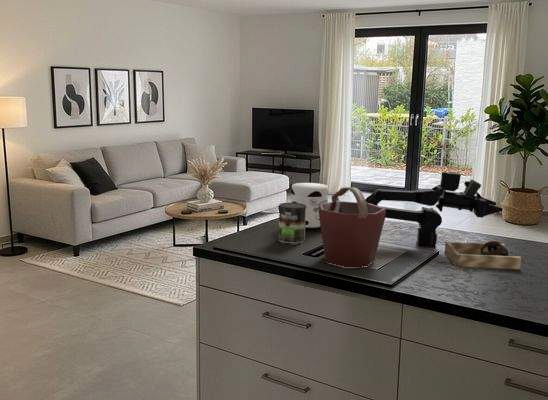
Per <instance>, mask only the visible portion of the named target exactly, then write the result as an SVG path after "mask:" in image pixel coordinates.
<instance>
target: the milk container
mask: <svg viewBox="0 0 548 400" xmlns="http://www.w3.org/2000/svg"><path fill="white" fill-rule="evenodd" d="M290 193H291V194H290V201H291V202H290V203H301V204H304V205H306V217H305V230H321V226H320V219H319V204H322V203H329V186H328V185H327V184H324V183H317V182H297V183H293V184H291V192H290Z"/></svg>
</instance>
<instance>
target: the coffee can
mask: <svg viewBox="0 0 548 400" xmlns="http://www.w3.org/2000/svg"><path fill="white" fill-rule="evenodd" d="M278 208H279V210H278V211H279V213H278V239H279V241H281V242H285V243H300V242H303V241H304V240H305V239H306V237H305V236H306V235H305V234H306V229H305V217H306V205H304V204H301V203H291V202H282V203H279V205H278ZM279 241H278V242H279ZM281 242H280V243H281ZM285 243H284V244H285Z"/></svg>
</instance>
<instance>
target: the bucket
mask: <svg viewBox="0 0 548 400" xmlns="http://www.w3.org/2000/svg"><path fill="white" fill-rule="evenodd" d="M348 191H350V192H351V193H352V194H353V197H354V198H355V200H356V201H346V200H345V201H343V200H342V201H341V200H340V199H339V197H342V196H343V195H345V194H346V193H347V192H348ZM365 199H366V198H365V196H364V194H363V192H362V191H361V190H360V189H359V188H357V187H354V186H353V187H350V186H347V187H346V186H345V187H344V186H343V187H341V188H340V189H339V190H338V191H336V192H335V193H333V194H332V195H331V202H330V201H329V202H328V203H322V204H319V219H320V226H321V229H320V232H321V240H322V246H323V253H324V259H325V260H324V261H325V263H326V262H328V263H332V264H336V265H340V266H344V267H362V266H363V267H364V266H368V265H369V264H370V263H371V262H373V261H374V262H375V259H376V253H377V252H378V248H379V243H380V239H381V237H382V236H381V235H382V232H383V229H384V225H385V222H386V221H385V220H386V218H385V216H386V209H385V208H382V207H383V206H381V207H379V206H380V205H378V206H376V205H373V204H370V203H366V200H365ZM374 262H373V263H374ZM369 266H370V265H369ZM369 266H368V267H369Z"/></svg>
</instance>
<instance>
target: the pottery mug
mask: <svg viewBox="0 0 548 400" xmlns="http://www.w3.org/2000/svg"><path fill="white" fill-rule="evenodd" d="M484 243H485V244H483V245H482V246H481V248H480V250H481V252H480V254H479V255H494V256H510V255H509V251H508V248H507V247H506V246H505V247H504V246H503V245H502V244H503V243H501V242H500V241H497V240H491V241H487V242H484ZM497 246H499V248H497ZM486 247H487V249H488V251H489V252H484V251H483V249H485V248H486Z"/></svg>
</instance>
